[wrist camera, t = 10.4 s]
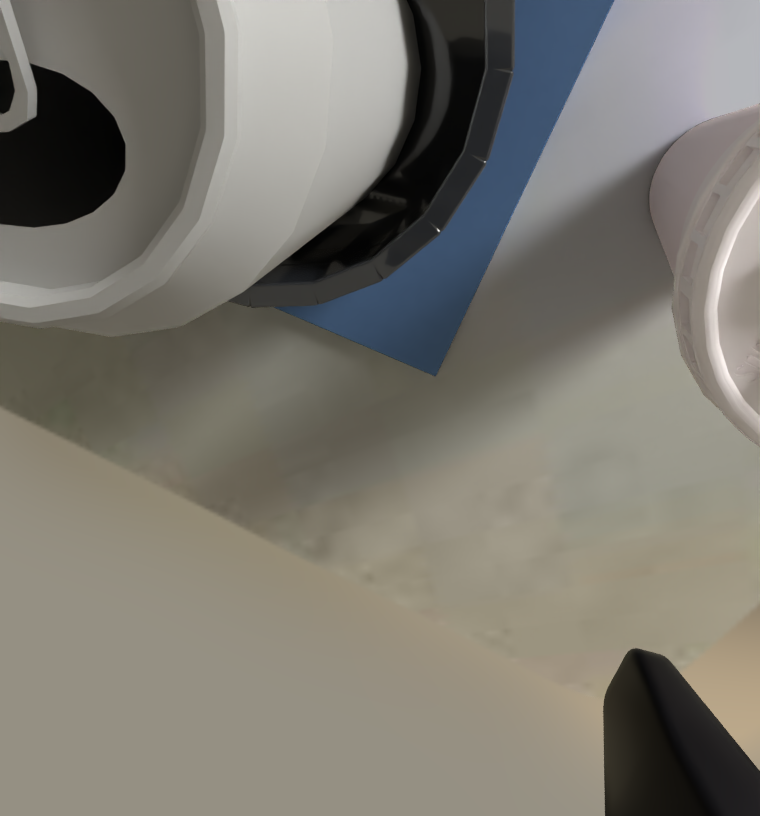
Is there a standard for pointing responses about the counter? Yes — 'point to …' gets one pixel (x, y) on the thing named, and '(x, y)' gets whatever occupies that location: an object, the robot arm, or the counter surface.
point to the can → (185, 147)
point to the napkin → (473, 199)
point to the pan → (413, 159)
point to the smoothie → (716, 257)
